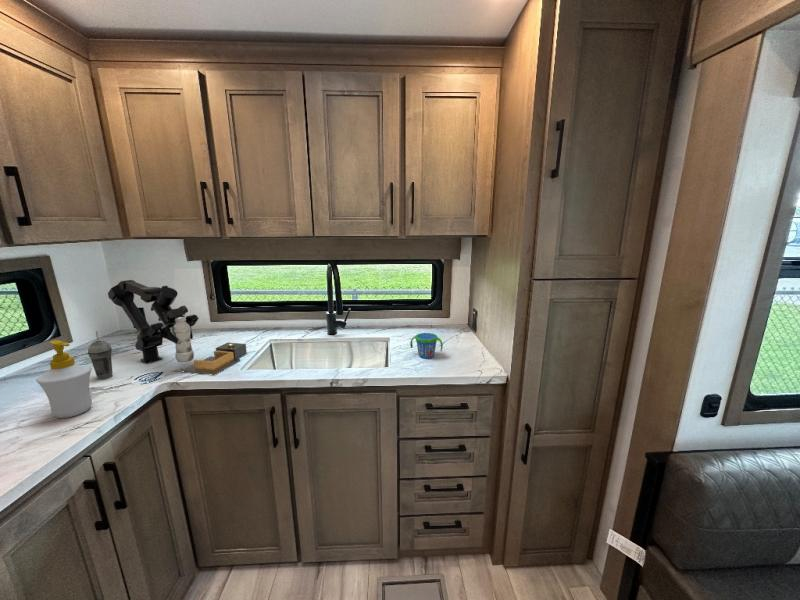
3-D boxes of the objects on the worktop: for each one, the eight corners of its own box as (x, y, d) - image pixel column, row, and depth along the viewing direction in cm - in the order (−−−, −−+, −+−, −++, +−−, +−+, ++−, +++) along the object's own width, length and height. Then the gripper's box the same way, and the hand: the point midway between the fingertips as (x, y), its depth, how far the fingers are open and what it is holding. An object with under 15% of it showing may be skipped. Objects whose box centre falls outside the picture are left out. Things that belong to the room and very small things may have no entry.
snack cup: (406, 357, 156) (407, 336, 154) (415, 350, 165) (415, 330, 163) (438, 362, 150) (438, 341, 148) (444, 355, 159) (445, 335, 157)
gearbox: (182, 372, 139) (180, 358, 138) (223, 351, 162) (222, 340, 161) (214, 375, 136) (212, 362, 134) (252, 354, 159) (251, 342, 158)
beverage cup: (114, 371, 139) (106, 326, 135) (118, 376, 134) (109, 330, 130) (91, 377, 133) (81, 331, 129) (95, 383, 129) (84, 334, 124)
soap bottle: (59, 426, 100) (40, 351, 95) (37, 417, 105) (18, 345, 100) (107, 406, 112) (93, 337, 107) (86, 399, 117) (71, 333, 111)
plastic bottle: (193, 363, 139) (188, 317, 135) (174, 365, 136) (168, 319, 132) (195, 357, 145) (191, 314, 141) (177, 359, 142) (172, 315, 138)
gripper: (147, 305, 128) (168, 336, 126) (193, 296, 145) (213, 324, 143) (138, 321, 133) (158, 352, 131) (184, 311, 150) (202, 338, 148)
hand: (184, 340), depth 138 cm, fingers closed on plastic bottle, 6 cm apart
